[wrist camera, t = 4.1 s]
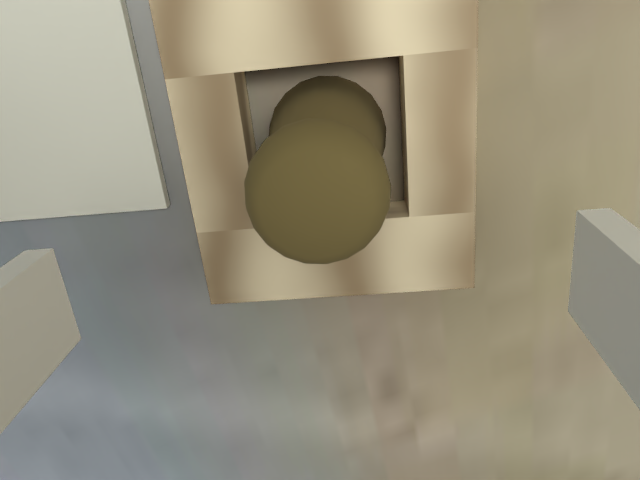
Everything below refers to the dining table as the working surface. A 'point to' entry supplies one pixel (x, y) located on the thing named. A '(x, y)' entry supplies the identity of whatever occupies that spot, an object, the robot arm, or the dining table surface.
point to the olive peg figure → (320, 173)
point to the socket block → (239, 146)
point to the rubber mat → (73, 113)
